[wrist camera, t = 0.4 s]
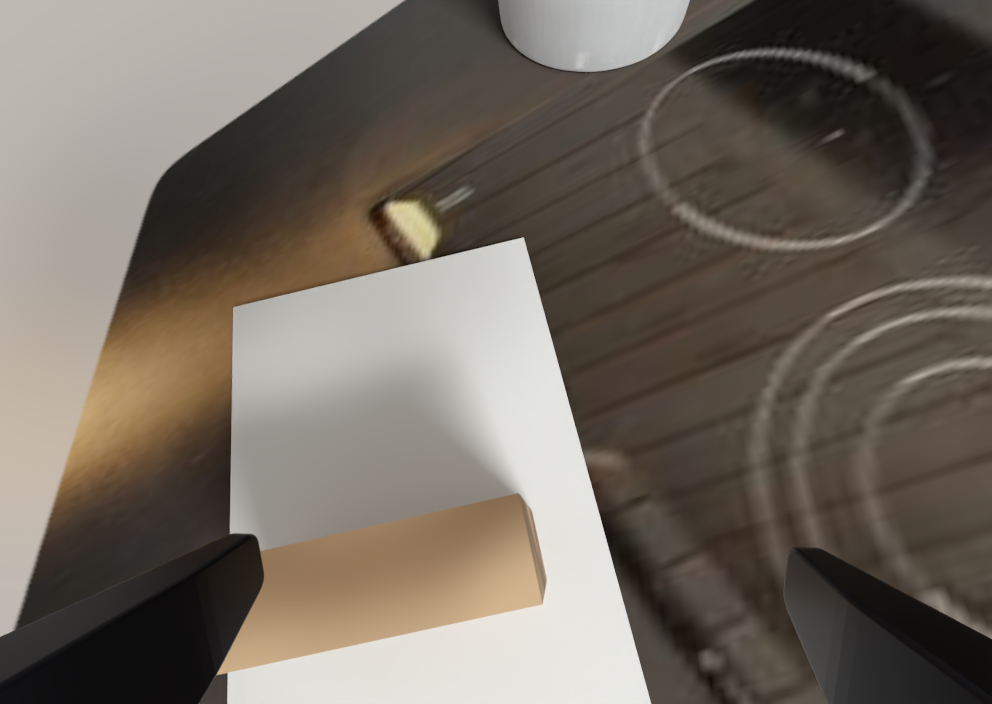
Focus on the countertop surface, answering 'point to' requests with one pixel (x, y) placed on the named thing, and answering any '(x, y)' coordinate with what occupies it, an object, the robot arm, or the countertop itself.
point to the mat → (426, 475)
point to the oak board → (392, 581)
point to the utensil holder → (590, 30)
